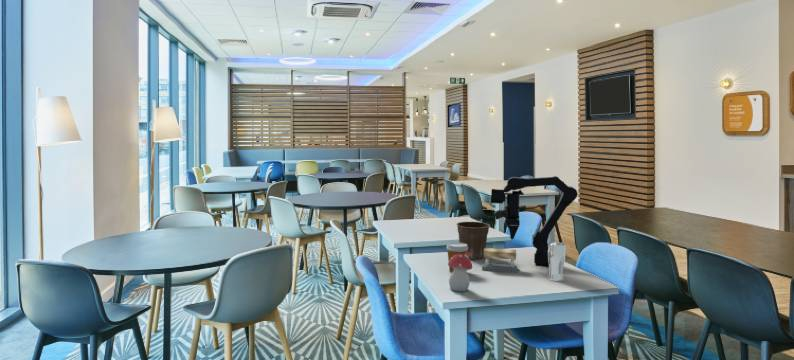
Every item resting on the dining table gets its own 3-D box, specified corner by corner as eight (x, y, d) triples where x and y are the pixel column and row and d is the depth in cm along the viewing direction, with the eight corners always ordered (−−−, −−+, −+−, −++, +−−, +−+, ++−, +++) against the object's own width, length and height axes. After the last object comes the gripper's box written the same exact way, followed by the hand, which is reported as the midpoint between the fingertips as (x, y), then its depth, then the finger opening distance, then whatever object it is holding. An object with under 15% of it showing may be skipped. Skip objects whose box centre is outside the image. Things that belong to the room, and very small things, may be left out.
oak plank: (516, 256, 216) (516, 249, 215) (516, 259, 210) (516, 252, 210) (484, 254, 219) (484, 248, 219) (483, 257, 213) (483, 250, 213)
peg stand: (517, 268, 217) (517, 256, 216) (517, 272, 210) (517, 260, 209) (483, 266, 220) (483, 254, 220) (482, 270, 213) (482, 257, 213)
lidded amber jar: (470, 270, 213) (471, 243, 212) (464, 275, 204) (464, 247, 203) (449, 267, 217) (450, 241, 216) (442, 273, 208) (443, 245, 207)
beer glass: (564, 278, 202) (565, 242, 201) (564, 282, 195) (566, 246, 194) (547, 276, 204) (548, 241, 203) (546, 280, 198) (547, 244, 196)
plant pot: (491, 261, 229) (492, 227, 228) (457, 260, 230) (458, 227, 228) (486, 253, 246) (486, 221, 244) (454, 252, 246) (454, 221, 245)
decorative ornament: (474, 289, 185) (475, 251, 184) (466, 294, 180) (467, 254, 178) (453, 285, 190) (453, 248, 189) (444, 289, 185) (445, 251, 184)
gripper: (496, 201, 236) (495, 232, 237) (494, 206, 218) (493, 240, 219) (519, 201, 233) (518, 233, 235) (520, 207, 215) (519, 241, 217)
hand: (512, 237), depth 226 cm, fingers open, 9 cm apart
